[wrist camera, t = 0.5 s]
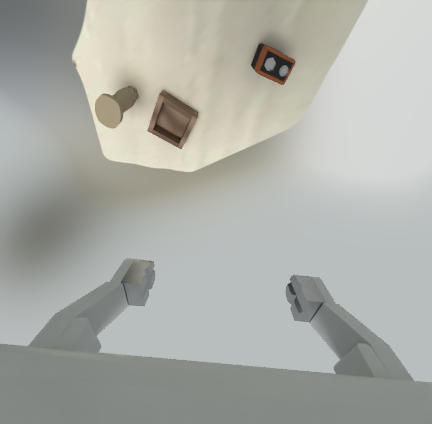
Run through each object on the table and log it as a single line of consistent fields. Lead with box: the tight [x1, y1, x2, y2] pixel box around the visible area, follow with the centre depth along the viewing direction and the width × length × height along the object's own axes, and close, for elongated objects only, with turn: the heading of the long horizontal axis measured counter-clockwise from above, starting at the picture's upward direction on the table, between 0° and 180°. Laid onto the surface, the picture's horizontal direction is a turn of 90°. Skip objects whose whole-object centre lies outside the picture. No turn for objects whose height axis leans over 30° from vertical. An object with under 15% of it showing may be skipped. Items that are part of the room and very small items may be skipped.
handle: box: [95, 86, 138, 128], centre depth 41 cm, size 5×6×15 cm
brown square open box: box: [148, 90, 198, 149], centre depth 49 cm, size 10×10×4 cm
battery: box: [251, 43, 295, 85], centre depth 38 cm, size 4×7×10 cm, turn 71°
